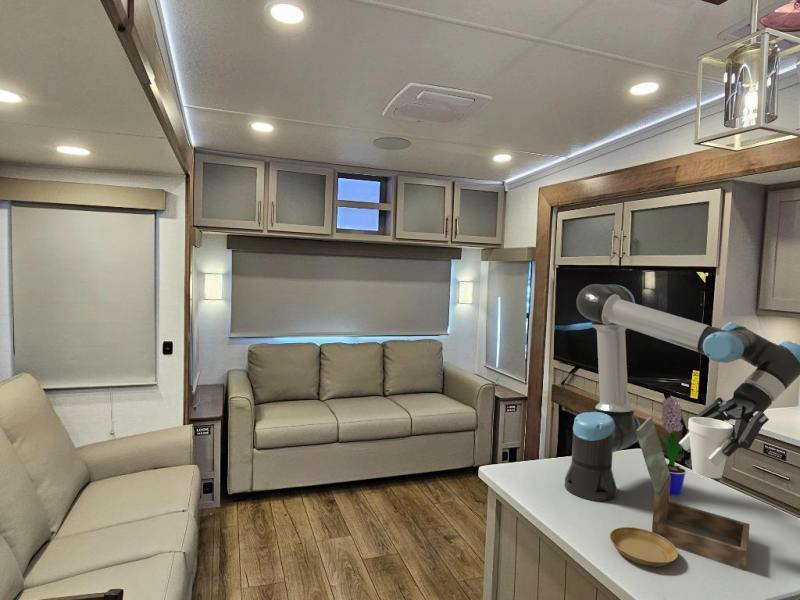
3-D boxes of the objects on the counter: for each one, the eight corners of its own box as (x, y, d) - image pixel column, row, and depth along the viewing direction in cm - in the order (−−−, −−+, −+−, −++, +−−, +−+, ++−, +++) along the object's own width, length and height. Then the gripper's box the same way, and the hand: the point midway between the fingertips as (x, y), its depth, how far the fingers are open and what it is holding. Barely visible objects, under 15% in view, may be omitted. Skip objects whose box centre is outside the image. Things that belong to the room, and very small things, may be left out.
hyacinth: (695, 499, 145) (702, 402, 144) (659, 494, 147) (665, 399, 146) (684, 486, 154) (691, 395, 152) (650, 482, 156) (656, 392, 154)
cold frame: (629, 531, 124) (635, 429, 123) (642, 509, 137) (648, 416, 136) (745, 570, 109) (753, 454, 108) (748, 541, 122) (756, 437, 121)
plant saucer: (692, 567, 110) (693, 556, 110) (641, 577, 106) (642, 566, 105) (642, 533, 124) (643, 523, 124) (595, 541, 120) (596, 531, 119)
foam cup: (715, 483, 114) (719, 430, 113) (677, 469, 122) (680, 419, 121) (737, 476, 118) (740, 425, 118) (699, 463, 127) (702, 415, 126)
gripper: (808, 415, 110) (742, 483, 109) (730, 391, 132) (675, 448, 131) (790, 393, 109) (723, 461, 108) (714, 372, 131) (658, 429, 130)
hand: (696, 454), depth 120 cm, fingers closed on foam cup, 9 cm apart
